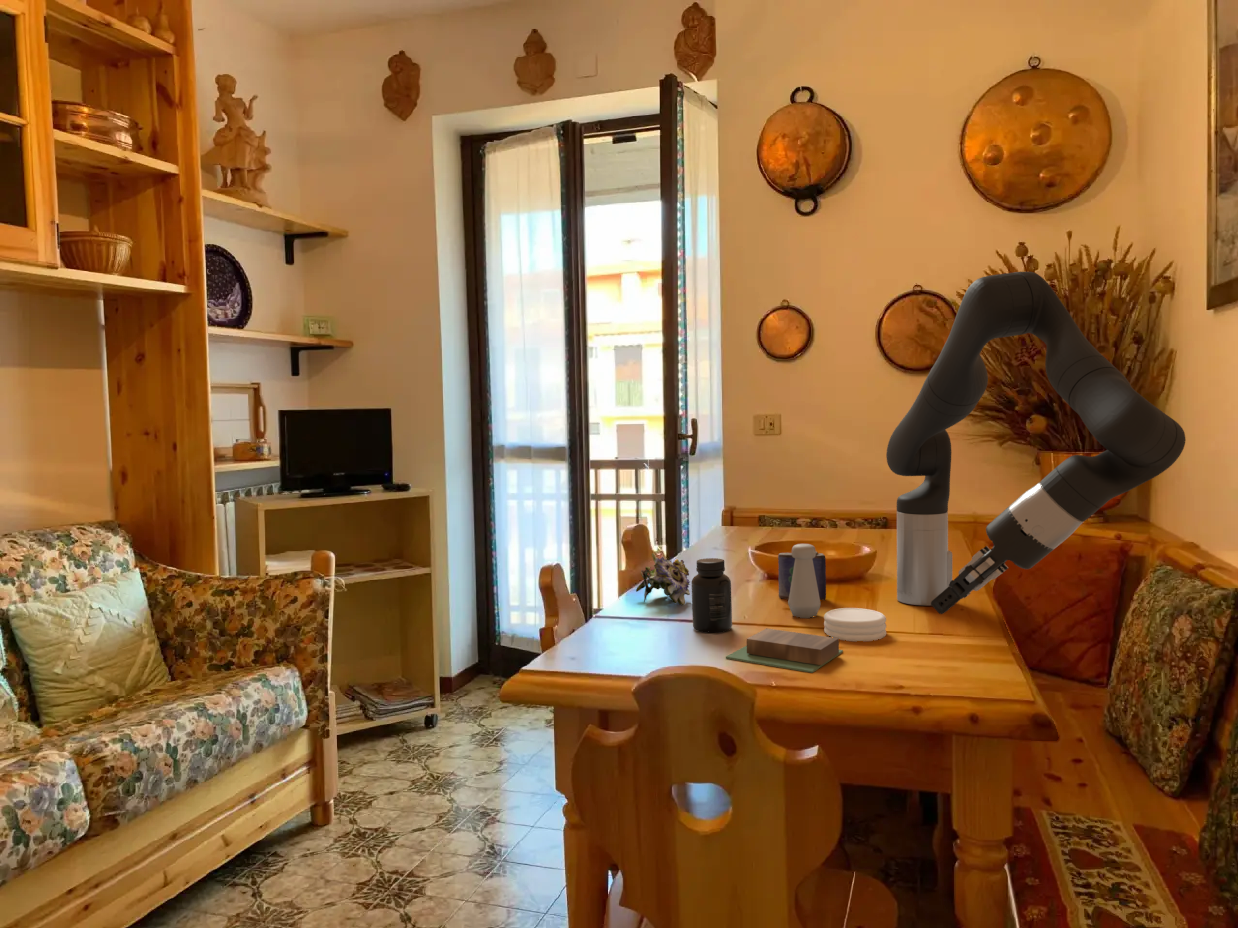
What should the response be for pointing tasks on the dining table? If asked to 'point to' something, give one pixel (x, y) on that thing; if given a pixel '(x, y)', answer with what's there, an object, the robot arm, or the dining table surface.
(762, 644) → the wooden block
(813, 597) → the salt shaker
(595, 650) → the dining table surface
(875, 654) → the dining table surface
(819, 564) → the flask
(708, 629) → the supplement bottle
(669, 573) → the passion flower
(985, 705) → the dining table surface
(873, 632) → the coaster
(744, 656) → the felt mat
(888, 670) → the dining table surface
